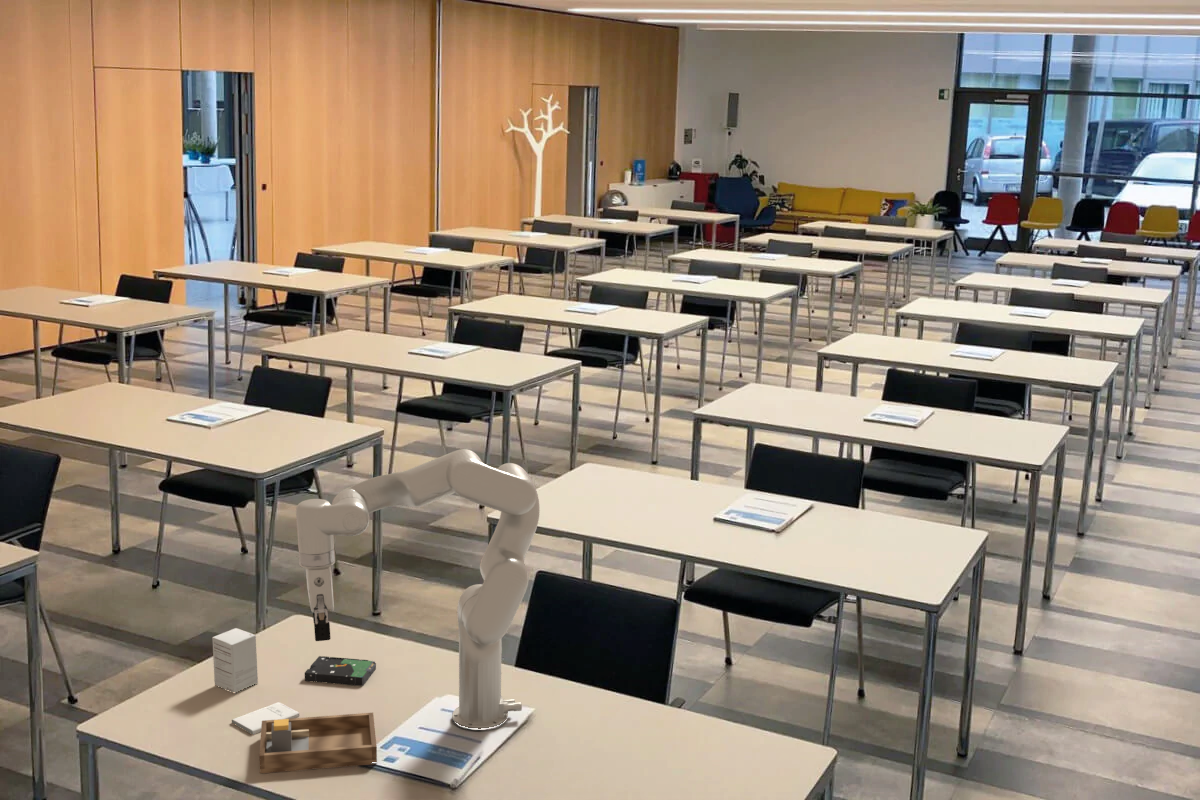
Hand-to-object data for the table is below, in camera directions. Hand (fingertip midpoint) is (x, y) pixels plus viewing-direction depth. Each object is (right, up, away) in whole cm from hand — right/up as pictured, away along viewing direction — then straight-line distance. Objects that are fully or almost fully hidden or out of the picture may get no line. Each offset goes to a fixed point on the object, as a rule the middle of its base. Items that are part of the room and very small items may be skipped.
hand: (322, 631), depth 285 cm
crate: (0, -25, -2) cm, 25 cm away
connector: (-8, -24, -4) cm, 26 cm away
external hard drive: (-15, -23, +11) cm, 29 cm away
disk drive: (-3, -17, +35) cm, 39 cm away
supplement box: (-26, -18, +28) cm, 42 cm away
